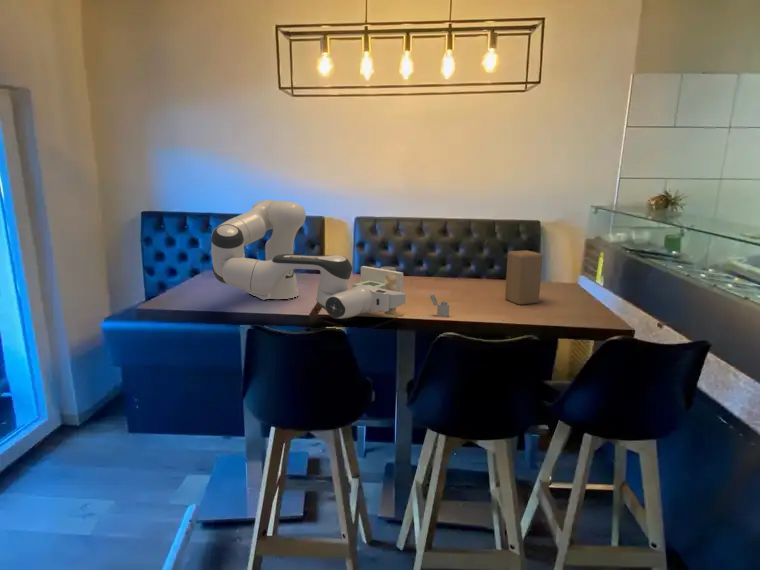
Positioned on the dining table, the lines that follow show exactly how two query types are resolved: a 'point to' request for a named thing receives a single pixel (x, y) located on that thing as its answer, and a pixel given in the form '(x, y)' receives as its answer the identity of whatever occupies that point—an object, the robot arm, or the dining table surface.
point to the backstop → (380, 276)
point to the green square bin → (373, 283)
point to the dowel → (390, 288)
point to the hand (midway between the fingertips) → (392, 291)
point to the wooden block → (523, 277)
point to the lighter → (440, 306)
